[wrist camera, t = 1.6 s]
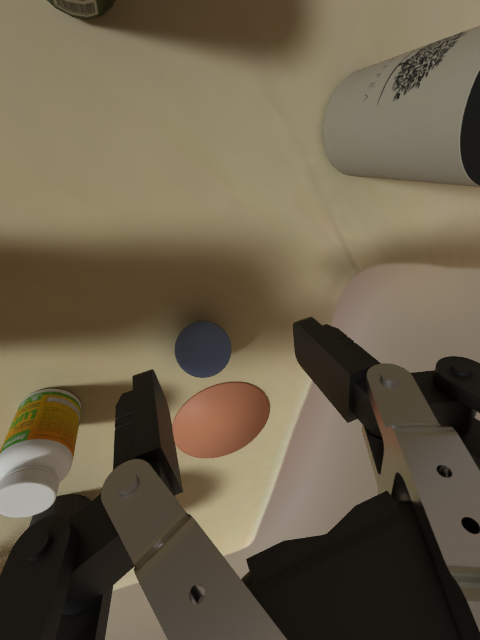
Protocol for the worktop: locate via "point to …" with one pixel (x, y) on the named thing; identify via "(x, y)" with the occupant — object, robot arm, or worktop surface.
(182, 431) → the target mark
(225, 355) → the ball
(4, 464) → the supplement bottle
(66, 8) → the beer can
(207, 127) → the worktop surface
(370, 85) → the travel mug
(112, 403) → the worktop surface
